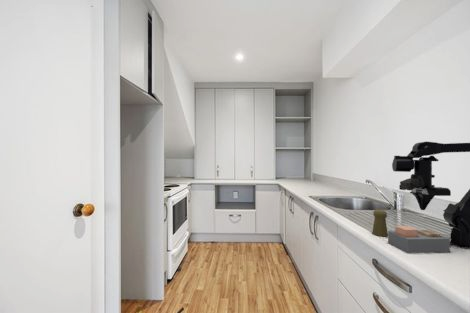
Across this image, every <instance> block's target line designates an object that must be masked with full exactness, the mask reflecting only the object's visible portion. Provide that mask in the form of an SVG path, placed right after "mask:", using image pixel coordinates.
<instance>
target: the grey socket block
mask: <svg viewBox="0 0 470 313" xmlns="http://www.w3.org/2000/svg"><path fill="white" fill-rule="evenodd" d="M387 233H388V236H387V244H389V245H391V246H393V247H394V248H396V249H398V250H401V251H403V252H405V253H406V254H441V253H442V254H447V253H451V251H450V250H451V245H450V241H451V238H449V237H446V236H442V235H440V237H426V236H424V235H421V234H418V233H417V237H403V236H400V235H398V234H396V230H387Z"/></svg>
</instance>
